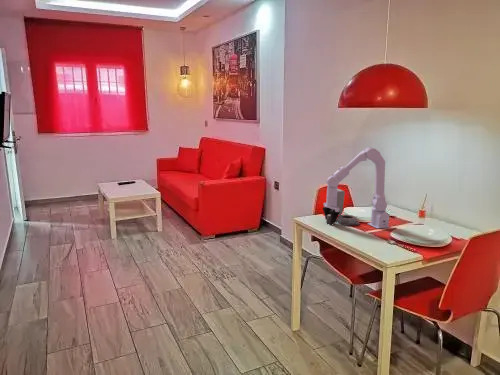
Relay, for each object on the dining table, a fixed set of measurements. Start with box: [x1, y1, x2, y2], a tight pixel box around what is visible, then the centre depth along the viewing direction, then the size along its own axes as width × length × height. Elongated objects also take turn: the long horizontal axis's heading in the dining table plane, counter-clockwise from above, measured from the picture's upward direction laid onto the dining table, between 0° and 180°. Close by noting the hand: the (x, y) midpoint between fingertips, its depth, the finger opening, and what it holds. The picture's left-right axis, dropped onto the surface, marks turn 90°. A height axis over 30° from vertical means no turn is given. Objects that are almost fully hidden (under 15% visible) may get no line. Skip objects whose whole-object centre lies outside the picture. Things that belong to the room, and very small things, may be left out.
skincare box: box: [331, 188, 346, 215], centre depth 237 cm, size 8×7×16 cm
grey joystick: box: [335, 214, 361, 227], centre depth 220 cm, size 10×10×4 cm
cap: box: [325, 214, 335, 226], centre depth 218 cm, size 4×4×5 cm
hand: (330, 221), depth 218 cm, fingers open, 6 cm apart
